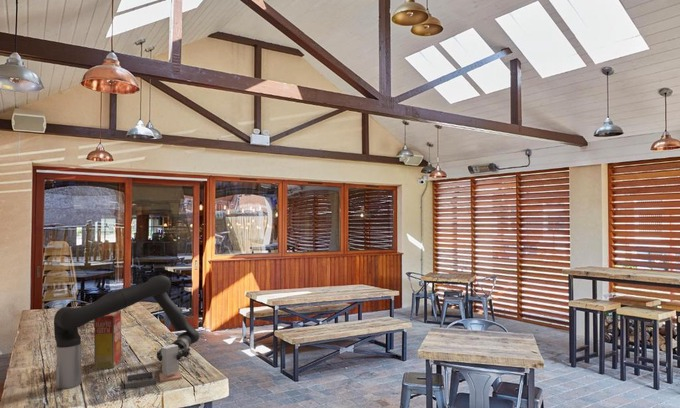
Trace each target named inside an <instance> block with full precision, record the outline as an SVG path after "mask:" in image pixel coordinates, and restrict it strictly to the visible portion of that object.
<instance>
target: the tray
mask: <svg viewBox="0 0 680 408" xmlns="http://www.w3.org/2000/svg"><path fill="white" fill-rule="evenodd" d="M145 378H150V379H145ZM140 379H145V380H140ZM155 379H156V377H155V372H154V371H146V372H142V373H141V372H140V373H134V374H133V373H132V374H127V375H125V380H124V389H130V388H131V389H132V388H138V387H144V386H145V387H146V386H150V385H151V384H152V385H156V381H155ZM131 380H132V382H128V381H131ZM133 380H138V381H133Z"/></svg>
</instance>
